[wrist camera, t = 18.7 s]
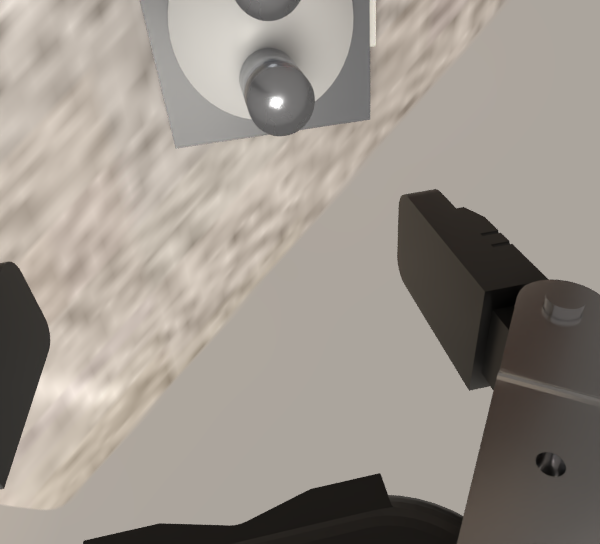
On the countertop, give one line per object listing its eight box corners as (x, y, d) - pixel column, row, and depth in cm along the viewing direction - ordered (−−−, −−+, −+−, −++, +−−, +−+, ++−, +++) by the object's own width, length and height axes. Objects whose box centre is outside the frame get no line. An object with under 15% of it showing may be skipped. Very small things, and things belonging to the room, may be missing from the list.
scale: (121, -100, 34) (112, -104, 30) (362, -124, 35) (384, -131, 31) (176, 131, 43) (175, 153, 39) (364, 104, 44) (382, 122, 40)
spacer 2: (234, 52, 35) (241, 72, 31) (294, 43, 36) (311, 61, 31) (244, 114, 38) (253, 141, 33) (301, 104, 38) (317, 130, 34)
